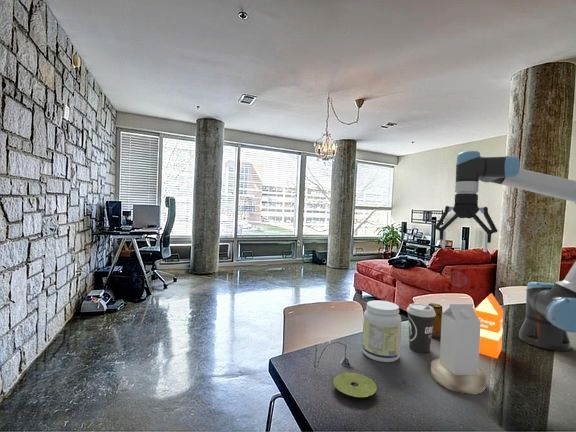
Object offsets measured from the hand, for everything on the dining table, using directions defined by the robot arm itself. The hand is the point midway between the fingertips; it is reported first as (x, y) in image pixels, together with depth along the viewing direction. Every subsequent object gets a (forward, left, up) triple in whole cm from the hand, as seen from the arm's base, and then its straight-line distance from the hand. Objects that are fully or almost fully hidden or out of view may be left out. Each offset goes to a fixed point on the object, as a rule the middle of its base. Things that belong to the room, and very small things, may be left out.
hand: (463, 250), depth 115 cm
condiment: (+8, -2, -35) cm, 36 cm away
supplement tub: (+26, +25, -35) cm, 50 cm away
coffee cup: (+14, +14, -35) cm, 40 cm away
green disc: (+30, +50, -35) cm, 68 cm away
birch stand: (+4, +31, -35) cm, 47 cm away
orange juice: (-8, +4, -35) cm, 36 cm away
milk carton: (+4, +31, -32) cm, 44 cm away
